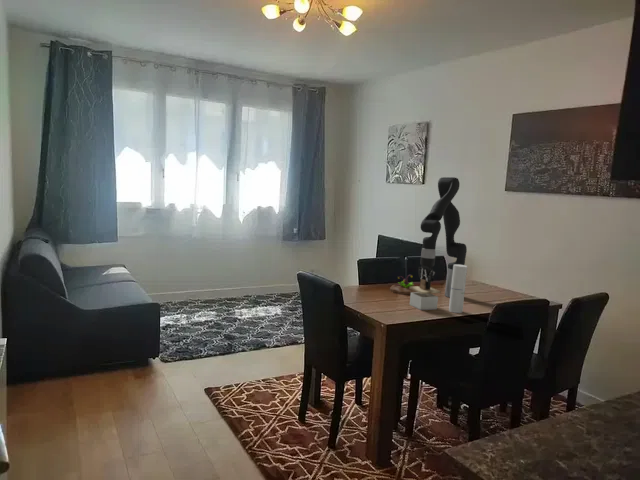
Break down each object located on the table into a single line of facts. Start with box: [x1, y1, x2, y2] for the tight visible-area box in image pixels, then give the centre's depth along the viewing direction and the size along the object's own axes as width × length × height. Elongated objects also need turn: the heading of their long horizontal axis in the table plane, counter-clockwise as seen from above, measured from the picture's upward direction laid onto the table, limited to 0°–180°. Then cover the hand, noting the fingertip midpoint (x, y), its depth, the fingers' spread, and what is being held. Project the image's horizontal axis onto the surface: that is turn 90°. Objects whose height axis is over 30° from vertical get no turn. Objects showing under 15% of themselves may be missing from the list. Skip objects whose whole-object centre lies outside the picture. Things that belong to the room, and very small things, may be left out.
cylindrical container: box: [448, 264, 468, 314], centre depth 249 cm, size 7×7×25 cm
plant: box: [389, 274, 417, 296], centre depth 289 cm, size 20×20×11 cm
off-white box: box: [409, 292, 439, 311], centre depth 254 cm, size 11×11×7 cm
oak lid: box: [410, 278, 442, 294], centre depth 253 cm, size 12×12×6 cm
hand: (425, 287), depth 253 cm, fingers closed on oak lid, 4 cm apart
